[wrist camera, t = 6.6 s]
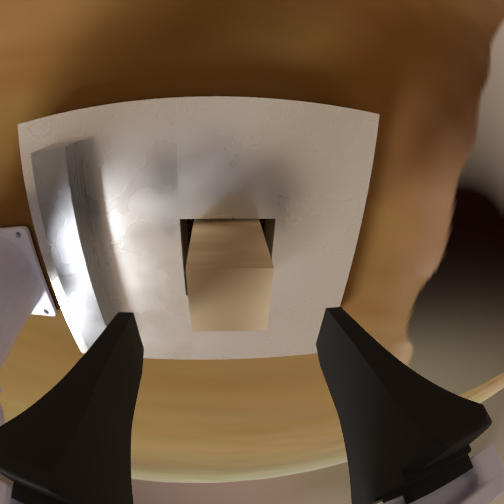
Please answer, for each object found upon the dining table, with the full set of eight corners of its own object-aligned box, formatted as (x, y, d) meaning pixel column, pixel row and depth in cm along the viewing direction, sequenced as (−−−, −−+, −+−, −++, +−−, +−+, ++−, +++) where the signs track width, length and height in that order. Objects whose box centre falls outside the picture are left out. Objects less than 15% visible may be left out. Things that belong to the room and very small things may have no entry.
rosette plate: (92, 325, 20) (75, 368, 16) (46, 117, 12) (-1, 130, 8) (314, 324, 22) (331, 368, 18) (353, 109, 14) (397, 118, 10)
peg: (199, 249, 18) (191, 331, 12) (197, 201, 16) (185, 268, 10) (250, 249, 18) (266, 329, 12) (253, 201, 17) (273, 268, 11)
